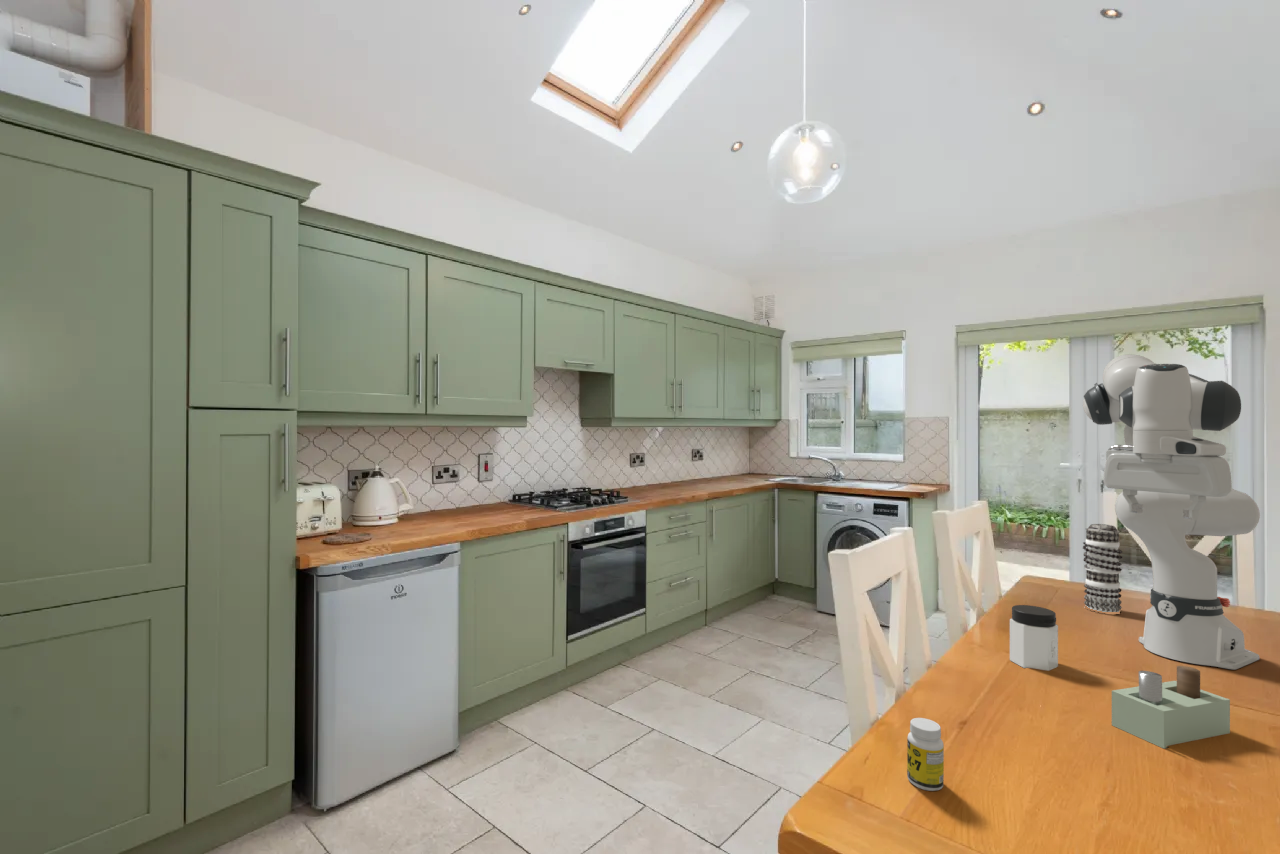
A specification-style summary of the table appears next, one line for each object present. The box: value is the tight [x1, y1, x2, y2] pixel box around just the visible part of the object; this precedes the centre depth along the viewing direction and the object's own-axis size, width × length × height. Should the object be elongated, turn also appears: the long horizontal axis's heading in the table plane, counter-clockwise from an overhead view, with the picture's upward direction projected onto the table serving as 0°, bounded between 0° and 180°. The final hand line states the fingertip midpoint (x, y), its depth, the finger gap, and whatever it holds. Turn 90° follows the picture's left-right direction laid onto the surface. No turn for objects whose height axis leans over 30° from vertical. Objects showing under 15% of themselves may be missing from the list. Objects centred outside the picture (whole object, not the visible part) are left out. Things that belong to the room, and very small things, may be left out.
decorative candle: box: [1082, 523, 1123, 612], centre depth 172 cm, size 9×9×25 cm
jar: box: [1009, 604, 1059, 672], centre depth 130 cm, size 9×8×12 cm
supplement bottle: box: [906, 717, 945, 792], centre depth 85 cm, size 5×5×8 cm
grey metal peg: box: [1138, 670, 1163, 706], centre depth 100 cm, size 3×3×10 cm
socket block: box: [1111, 680, 1231, 749], centre depth 101 cm, size 16×8×6 cm, turn 107°
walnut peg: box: [1176, 665, 1201, 699], centre depth 102 cm, size 3×3×10 cm
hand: (1162, 515), depth 115 cm, fingers open, 8 cm apart
